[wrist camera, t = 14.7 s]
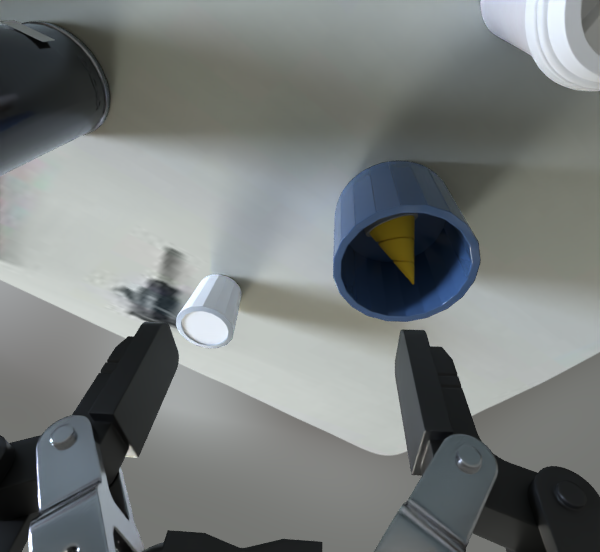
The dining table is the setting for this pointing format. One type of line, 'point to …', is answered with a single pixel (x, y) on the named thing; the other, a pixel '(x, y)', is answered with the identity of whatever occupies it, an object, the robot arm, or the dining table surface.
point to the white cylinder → (211, 312)
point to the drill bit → (396, 240)
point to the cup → (427, 244)
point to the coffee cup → (552, 36)
